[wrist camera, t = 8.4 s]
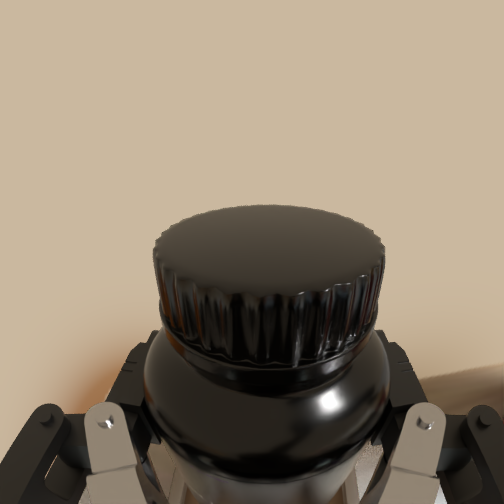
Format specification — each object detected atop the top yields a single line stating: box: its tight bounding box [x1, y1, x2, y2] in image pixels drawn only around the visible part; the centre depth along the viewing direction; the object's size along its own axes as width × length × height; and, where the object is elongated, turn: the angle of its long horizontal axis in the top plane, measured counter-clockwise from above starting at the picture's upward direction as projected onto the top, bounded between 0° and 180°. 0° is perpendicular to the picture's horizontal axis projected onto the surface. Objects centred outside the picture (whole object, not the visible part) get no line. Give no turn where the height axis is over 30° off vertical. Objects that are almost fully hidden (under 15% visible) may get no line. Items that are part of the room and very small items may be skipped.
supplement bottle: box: [143, 205, 391, 504], centre depth 9 cm, size 7×7×12 cm
